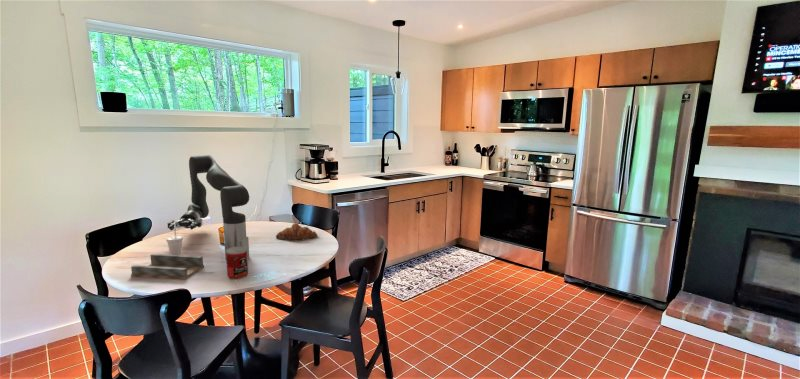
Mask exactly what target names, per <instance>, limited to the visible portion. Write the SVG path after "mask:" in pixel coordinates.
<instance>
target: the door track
mask: <svg viewBox="0 0 800 379" xmlns="http://www.w3.org/2000/svg"><path fill="white" fill-rule="evenodd" d="M203 258H204V257H203V256H200V255H199V256H197V255H184V254H183V255H182V254H181V255H170V254H166V253H165V254H164V253H163V254H161V253H151V254H150V264H148V265H138V264H135V265H131V267H130V268H131V274H130V277H132V278H147V279H148V278H150V279H163V280H164V279H165V280H181V281H182V280H186V279H188V278H189V277H191V276H192V275H194V274H196V273H197V272H199V271H201V270H202V269H203V268H204V267H205V265H204V261H203V260H204V259H203Z"/></svg>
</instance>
